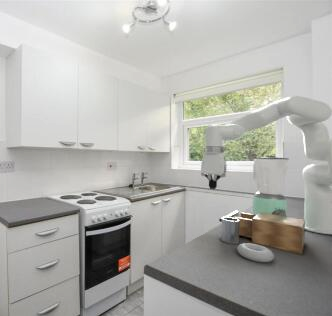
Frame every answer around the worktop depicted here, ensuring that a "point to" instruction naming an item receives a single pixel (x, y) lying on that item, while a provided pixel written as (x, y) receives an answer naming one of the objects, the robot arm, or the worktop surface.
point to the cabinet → (279, 232)
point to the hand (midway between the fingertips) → (212, 188)
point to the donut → (255, 252)
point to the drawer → (243, 223)
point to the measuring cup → (230, 230)
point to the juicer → (270, 185)
